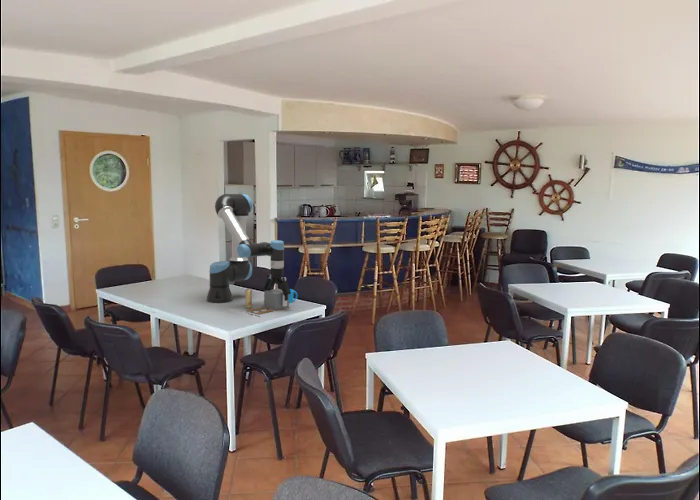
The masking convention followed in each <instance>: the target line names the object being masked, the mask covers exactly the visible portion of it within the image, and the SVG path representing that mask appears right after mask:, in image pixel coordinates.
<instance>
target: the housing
mask: <svg viewBox="0 0 700 500" xmlns="http://www.w3.org/2000/svg"><path fill="white" fill-rule="evenodd" d="M285 293H286V292H285ZM283 295H284V293H283V292H282V290H281V288H280V289H279V288H273V289H270V290H267V291H266V290H264V292H263V307H264V308H268V309H272V310H279V311H282V310H281V309H283V310H286V309H285V308H288V309H290V308H289V307H290V303H289V294H288V300H287V306H283Z"/></svg>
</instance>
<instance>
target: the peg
mask: <svg viewBox="0 0 700 500" xmlns="http://www.w3.org/2000/svg"><path fill="white" fill-rule="evenodd" d="M252 291H253V290H252V288H247V289H245V310H250V309H253V307H252V305H253V304H252V303H253V301H252V300H253V299H252V298H253V292H252Z"/></svg>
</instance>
